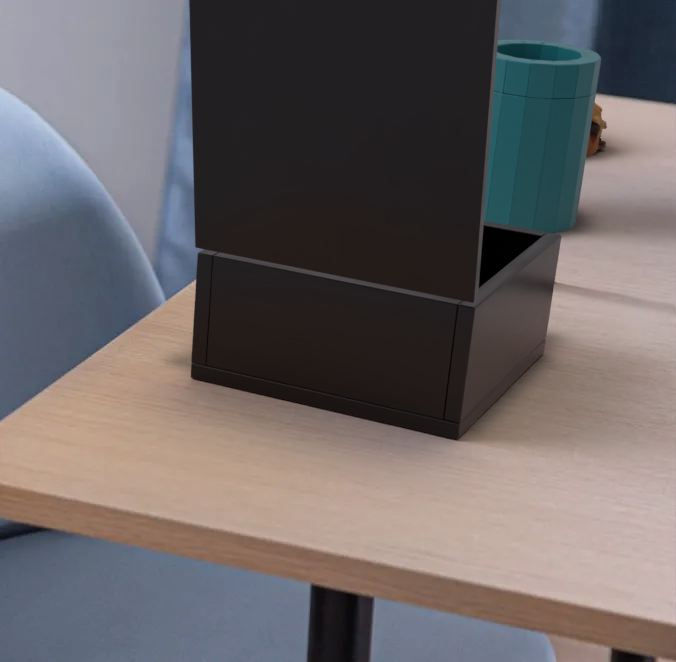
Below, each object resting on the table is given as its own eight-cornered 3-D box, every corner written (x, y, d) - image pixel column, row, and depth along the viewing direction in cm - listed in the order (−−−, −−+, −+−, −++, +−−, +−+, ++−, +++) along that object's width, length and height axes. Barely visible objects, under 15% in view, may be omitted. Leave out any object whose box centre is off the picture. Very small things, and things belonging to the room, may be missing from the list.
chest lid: (193, -62, 75) (187, -57, 74) (503, -25, 69) (498, -20, 69) (200, 242, 83) (194, 247, 82) (478, 297, 77) (473, 303, 77)
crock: (586, 225, 113) (614, 50, 108) (553, 253, 107) (581, 69, 102) (475, 205, 116) (497, 34, 111) (437, 232, 110) (459, 52, 105)
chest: (301, 303, 96) (311, 189, 94) (544, 353, 91) (562, 234, 88) (189, 378, 85) (197, 252, 83) (457, 440, 80) (474, 308, 77)
